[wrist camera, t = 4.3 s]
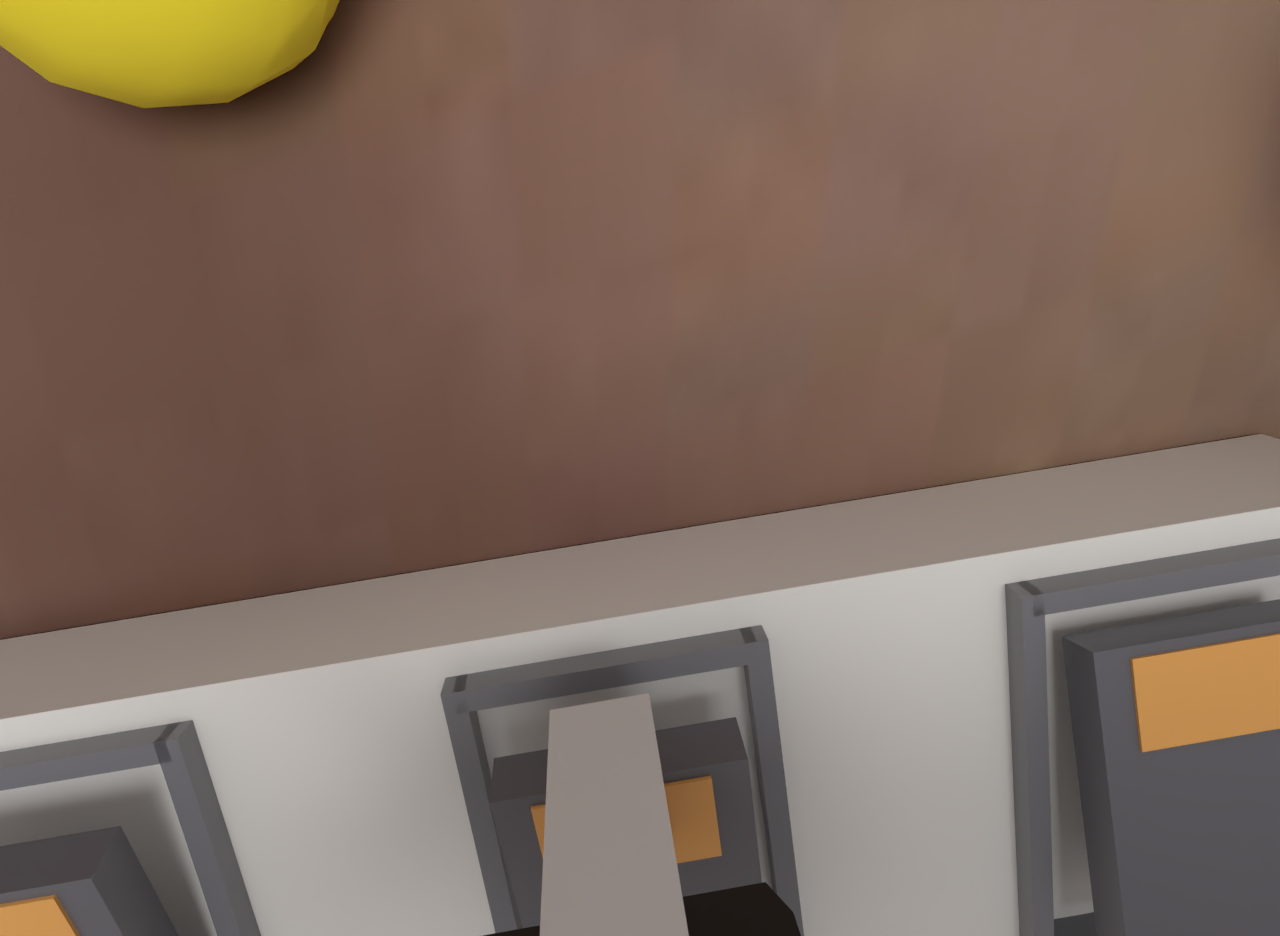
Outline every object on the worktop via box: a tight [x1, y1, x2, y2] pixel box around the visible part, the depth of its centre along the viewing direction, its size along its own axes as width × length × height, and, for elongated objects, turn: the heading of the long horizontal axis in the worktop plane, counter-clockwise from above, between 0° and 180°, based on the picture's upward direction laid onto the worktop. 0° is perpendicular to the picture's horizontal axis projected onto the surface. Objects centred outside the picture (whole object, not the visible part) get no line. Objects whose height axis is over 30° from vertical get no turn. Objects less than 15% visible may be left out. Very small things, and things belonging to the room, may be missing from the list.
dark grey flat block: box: [490, 717, 762, 928], centre depth 15 cm, size 6×4×1 cm, turn 9°
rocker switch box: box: [0, 434, 1280, 936], centre depth 19 cm, size 12×40×5 cm, turn 98°
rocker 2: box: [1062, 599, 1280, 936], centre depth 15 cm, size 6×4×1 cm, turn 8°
